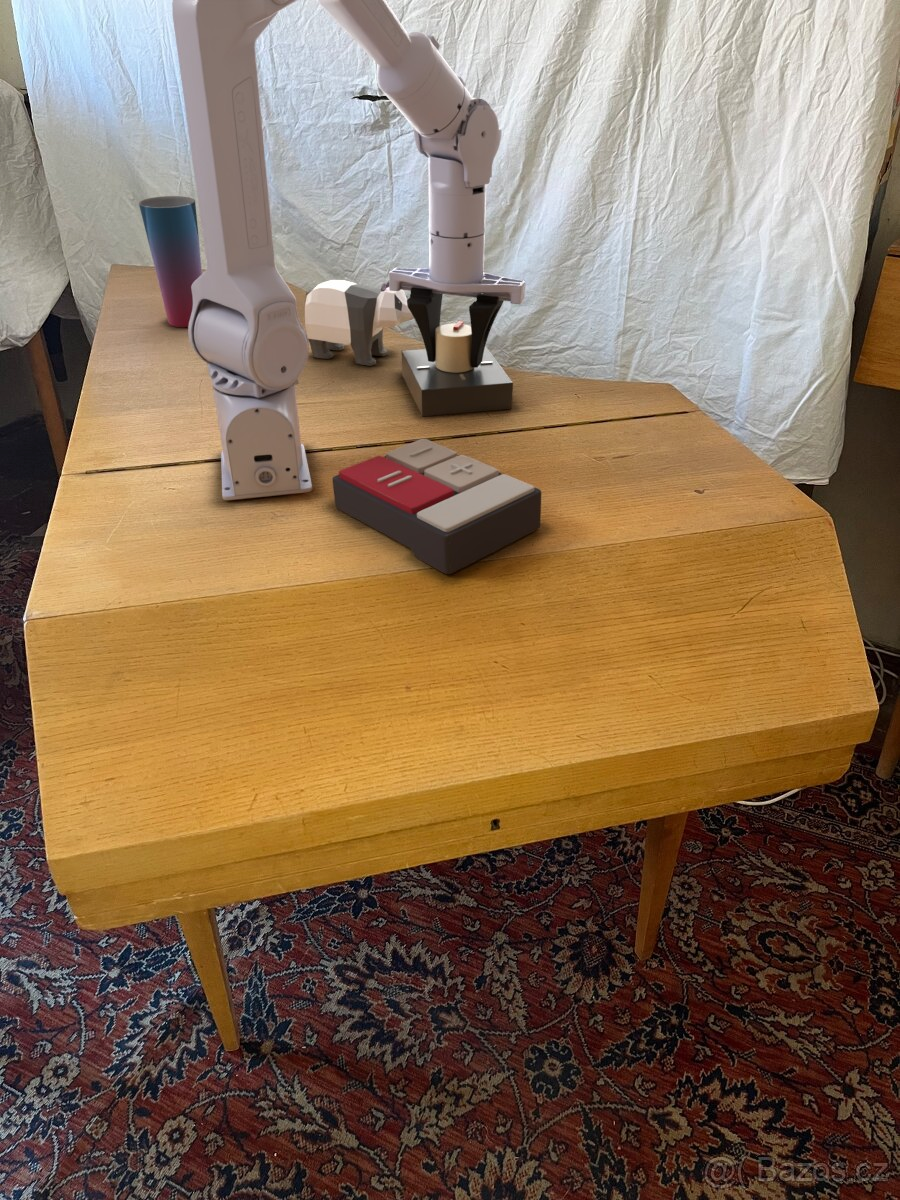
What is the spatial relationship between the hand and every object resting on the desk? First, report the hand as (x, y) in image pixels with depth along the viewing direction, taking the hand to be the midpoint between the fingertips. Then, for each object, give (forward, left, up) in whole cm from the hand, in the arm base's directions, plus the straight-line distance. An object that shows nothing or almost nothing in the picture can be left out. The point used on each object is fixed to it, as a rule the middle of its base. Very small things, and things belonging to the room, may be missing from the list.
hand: (455, 361), depth 95 cm
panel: (0, 0, -3) cm, 3 cm away
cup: (+31, +30, -4) cm, 43 cm away
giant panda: (+13, +9, -4) cm, 16 cm away
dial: (0, 0, 0) cm, 0 cm away
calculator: (-27, +8, -4) cm, 28 cm away
